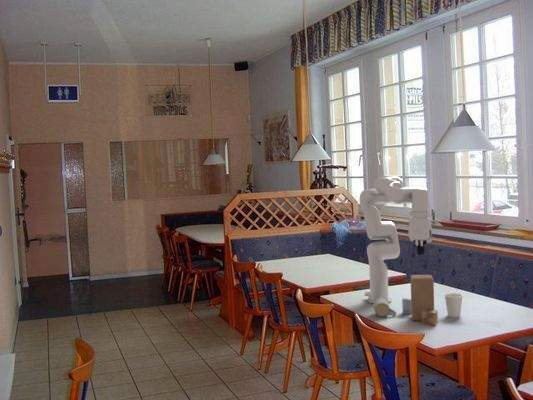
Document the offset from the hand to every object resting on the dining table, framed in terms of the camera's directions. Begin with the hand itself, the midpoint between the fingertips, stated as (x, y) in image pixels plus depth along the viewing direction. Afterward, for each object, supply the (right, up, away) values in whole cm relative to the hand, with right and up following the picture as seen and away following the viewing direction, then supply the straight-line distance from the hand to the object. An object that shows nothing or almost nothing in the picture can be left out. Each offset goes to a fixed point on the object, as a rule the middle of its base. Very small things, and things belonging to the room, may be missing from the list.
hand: (420, 254), depth 280 cm
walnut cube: (+2, -31, -8) cm, 32 cm away
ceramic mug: (-15, -31, +11) cm, 36 cm away
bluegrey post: (-3, -30, +13) cm, 33 cm away
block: (+1, -31, +2) cm, 31 cm away
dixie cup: (+17, -30, +4) cm, 34 cm away
